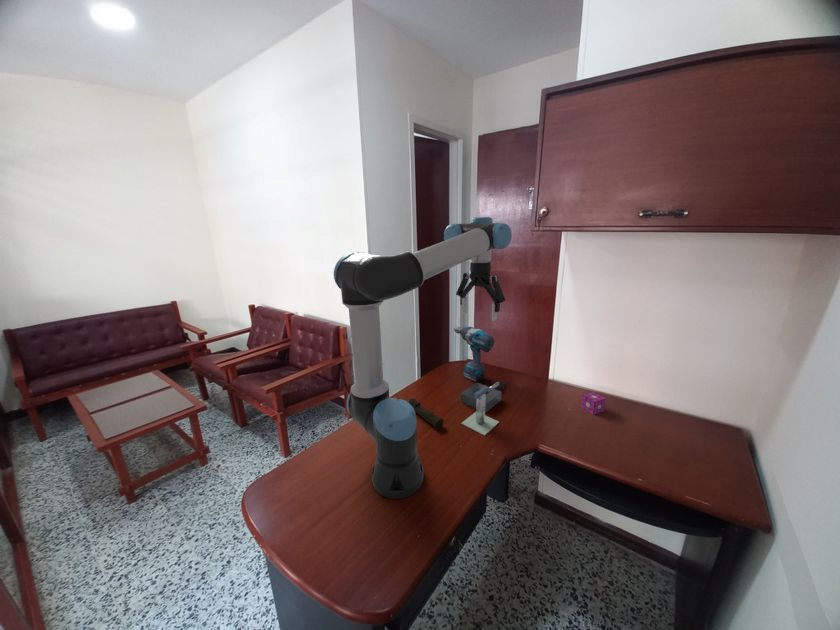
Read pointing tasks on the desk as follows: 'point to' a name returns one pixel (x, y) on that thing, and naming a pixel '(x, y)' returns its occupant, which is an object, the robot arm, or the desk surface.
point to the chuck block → (491, 396)
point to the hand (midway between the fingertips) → (478, 316)
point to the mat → (480, 429)
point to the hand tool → (426, 414)
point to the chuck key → (480, 404)
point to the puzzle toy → (593, 403)
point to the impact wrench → (475, 351)
